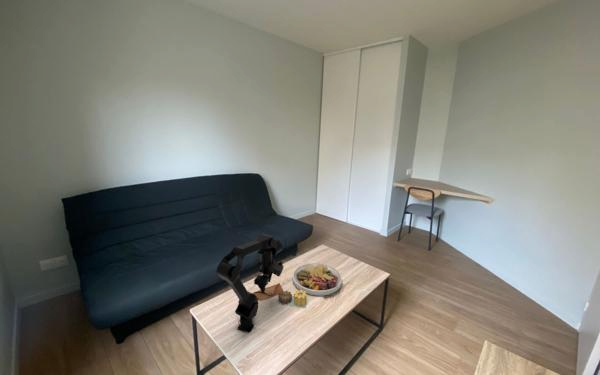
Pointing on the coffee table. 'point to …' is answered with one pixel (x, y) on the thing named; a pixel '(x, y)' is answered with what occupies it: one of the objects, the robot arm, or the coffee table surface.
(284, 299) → the gear
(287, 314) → the coffee table surface
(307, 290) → the bowl
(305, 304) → the gear board
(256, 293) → the sunglasses case
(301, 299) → the gear
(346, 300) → the coffee table surface
